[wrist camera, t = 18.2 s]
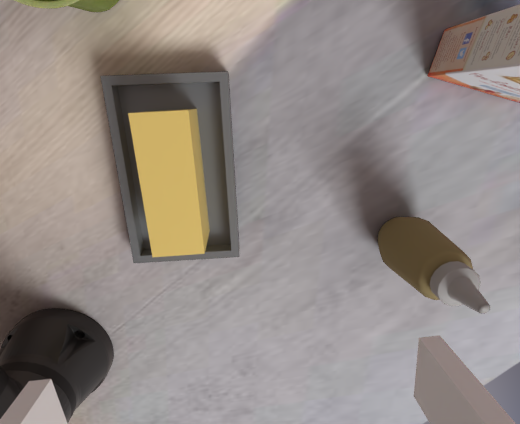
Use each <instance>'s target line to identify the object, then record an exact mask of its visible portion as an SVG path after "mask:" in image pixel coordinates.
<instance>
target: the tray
mask: <svg viewBox="0 0 520 424" xmlns="http://www.w3.org/2000/svg"><path fill="white" fill-rule="evenodd" d="M101 82H102V87H103V93H104V99H105V104H106V110H107V116H108V121H109V127H110V132H111V138H112V144H113V149H114V155H115V161H116V166H117V172H118V178H119V183H120V189H121V194H122V200H123V206H124V211H125V217H126V223H127V228H128V234H129V240H130V245H131V251H132V257H133V262H134V263H145V262H162V261H179V260H196V259H212V258H229V257H239V234H238V218H237V202H236V186H235V170H234V153H233V137H232V121H231V105H230V89H229V74H228V72H200V73H171V74H142V75H113V76H101ZM184 109H197V115H198V124H199V134H200V144H201V153H202V163H203V172H204V182H205V191H206V201H207V210H208V220H209V229H210V232H209V237H208V241H207V245H206V250H205V254H193V255H179V256H165V257H152V251H151V246H150V240H149V234H148V228H147V222H146V216H145V210H144V204H143V198H142V192H141V187H140V181H139V175H138V169H137V163H136V157H135V151H134V145H133V139H132V133H131V128H130V122H129V116H128V113H135V112H146V111H165V110H184Z"/></svg>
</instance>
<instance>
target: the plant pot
mask: <svg viewBox="0 0 520 424" xmlns="http://www.w3.org/2000/svg"><path fill="white" fill-rule="evenodd" d="M15 1H17V2H20V3H22V4H25V5H28V6H32V7H37V8H60V7H65V6H70V7H75V8H78V9H82V10H87V11H91V12H102V11H106V10H109V9H110V8H112V7H113V6H114V5H115V4H116V3H117V2H118V1H119V0H15Z"/></svg>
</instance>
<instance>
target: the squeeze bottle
mask: <svg viewBox="0 0 520 424" xmlns="http://www.w3.org/2000/svg"><path fill="white" fill-rule="evenodd" d="M378 245H379V250H380V254H381V257H382V260H383V262H384V263H385V264H386V265H387V266H388V267H389V268H390V269H392V270H393V271H394V272H395V273H397V274H398V275H399V276H400V277H402V278H403V279H404V280H405V281H406V282H408V283H409V284H410V285H411V286H413V287H414V288H415V289H416V290H418V291H419V292H420V293H421V294H423V295H424V296H425V297H427V298H430V299H434V300H441V301H442V302H443V303H444V304H446V305H449V306H460V305H463V304H464V305H465V306H467V307H469V308H471V309H473V310H475V311H477V312H479V313H481V314H485V313H487V312H488V311H489V310H490V305H489V304H488V302H487V301H486V300H485V298H484V297H483V296H482V294H481V293H480V292H479V288H480V283H481V282H480V278H479V275H478V274H477V273H476V272H475V271H474V270H473V267H472V263H471V259H470V258H469V257H468V256H467V255H466V254H465V253H464V252H463V251H462V250H461V249H460V248H458V247H457V246H456V245H455V244H454V243H453V242H452V241H450V240H449V239H448V238H447V237H446V236H445V235H444V234H442V233H441V232H440V231H439V230H438V229H437V228H436V227H434V226H433V225H432V224H431V223H430V222H429V221H426V220H424V219H421V218H416V217H395V218H393V219H390V220H388V221H387V222H386V223H385V224H384V225H383V226H382V227H381V229H380V231H379V233H378Z"/></svg>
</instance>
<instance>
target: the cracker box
mask: <svg viewBox="0 0 520 424" xmlns="http://www.w3.org/2000/svg"><path fill="white" fill-rule="evenodd" d="M428 77H432V78H436V79H440V80H443V81H446V82H450V83H453V84H457V85H460V86H464V87H467V88H471V89H474V90H478V91H481V92H484V93H488V94H491V95H495V96H498V97H502V98H505V99H509V100H512V101H516V102H519V103H520V4H519V5H516V6H513V7H510V8H507V9H504V10H501V11H498V12H495V13H492V14H489V15H486V16H483V17H480V18H477V19H474V20H471V21H468V22H465V23H462V24H459V25H456V26H453V27H451V28H447V29H445V30H444V33H443V35H442V38H441V41H440V43H439V46H438V49H437V52H436V54H435V57H434V60H433V62H432V65H431V68H430V70H429V73H428Z"/></svg>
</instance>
